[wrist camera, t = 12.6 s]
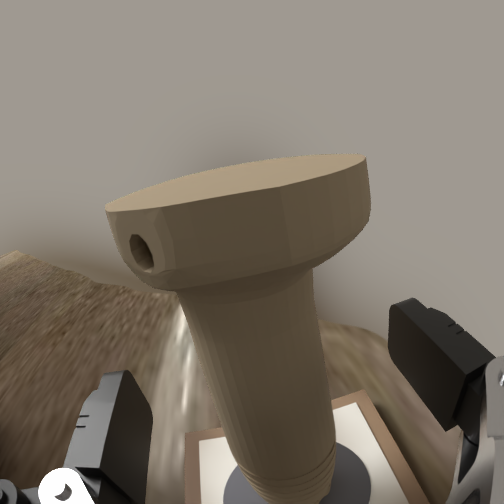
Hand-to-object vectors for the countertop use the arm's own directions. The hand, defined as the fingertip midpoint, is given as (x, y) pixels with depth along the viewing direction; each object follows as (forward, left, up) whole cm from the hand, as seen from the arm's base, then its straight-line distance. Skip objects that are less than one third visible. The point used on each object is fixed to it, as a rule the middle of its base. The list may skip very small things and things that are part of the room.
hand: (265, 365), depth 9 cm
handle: (0, 0, -10) cm, 10 cm away
